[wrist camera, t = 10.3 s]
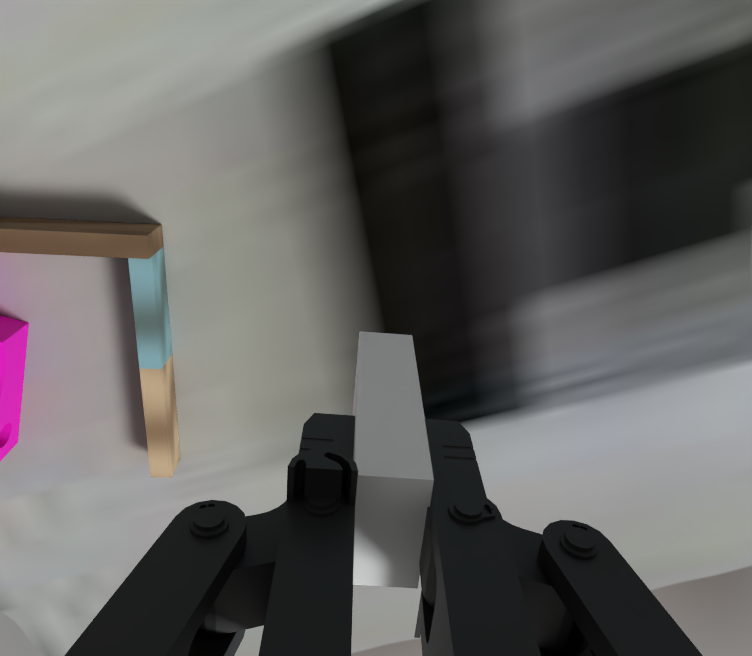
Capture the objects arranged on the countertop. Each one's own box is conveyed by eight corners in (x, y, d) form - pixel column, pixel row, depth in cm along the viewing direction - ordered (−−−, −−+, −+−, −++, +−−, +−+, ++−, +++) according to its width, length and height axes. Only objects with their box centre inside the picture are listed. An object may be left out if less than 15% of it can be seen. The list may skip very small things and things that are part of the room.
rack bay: (-148, 209, 40) (-185, 219, 38) (161, 224, 41) (146, 235, 38) (-82, 448, 48) (-110, 472, 45) (180, 458, 48) (169, 482, 46)
